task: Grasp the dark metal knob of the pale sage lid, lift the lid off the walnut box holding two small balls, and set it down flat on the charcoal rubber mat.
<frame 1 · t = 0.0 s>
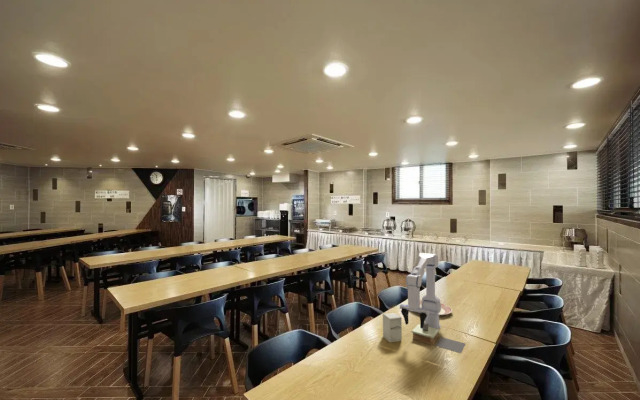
hand: (414, 325, 139), 10 cm above the table, fingers open, 7 cm apart
dinner plate: (429, 311, 187), on the table
box: (425, 339, 146), on the table
lid: (425, 331, 146), point 4 cm above the table, touching box
mat: (450, 345, 139), on the table
supplement box: (392, 339, 146), on the table
ball b: (427, 340, 144), resting on box
ball a: (423, 336, 148), resting on box
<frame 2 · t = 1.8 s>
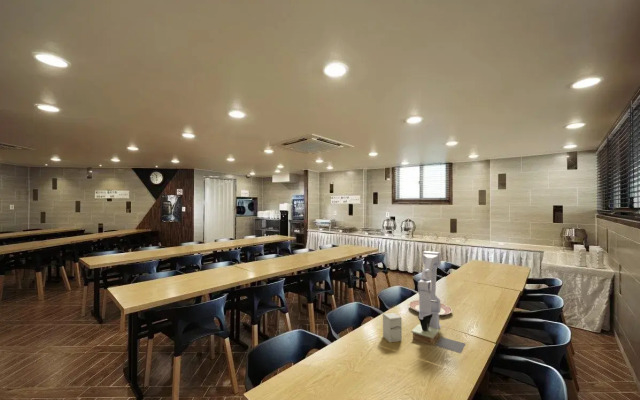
hand: (425, 328, 146), 5 cm above the table, fingers closed on lid, 3 cm apart
lid: (425, 331, 146), point 4 cm above the table, touching box, gripper
everything else where it was.
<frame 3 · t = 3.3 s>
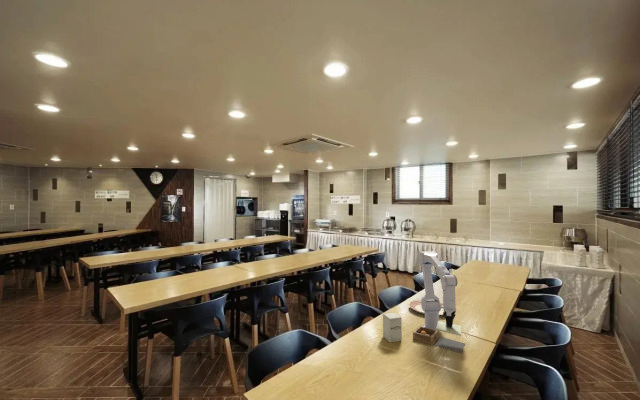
hand: (449, 325, 139), 10 cm above the table, fingers closed on lid, 3 cm apart
lid: (448, 328, 139), point 8 cm above the table, touching gripper
everything else where it was.
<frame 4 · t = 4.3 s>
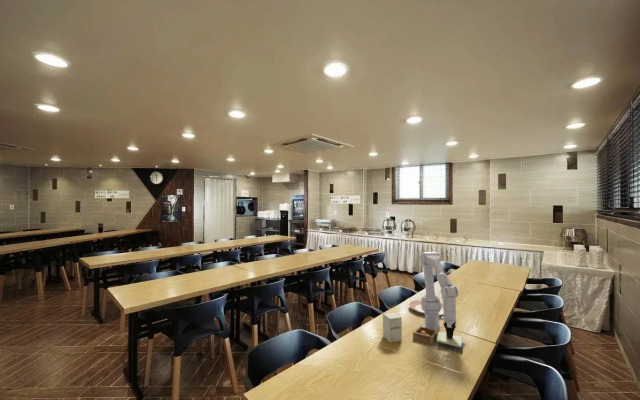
hand: (450, 336, 139), 4 cm above the table, fingers closed on lid, 3 cm apart
lid: (449, 339, 139), point 3 cm above the table, touching gripper
everything else where it was.
when the fingers open (3 cm above the table, at t = 4.9 s): lid stays where it is, resting on mat.
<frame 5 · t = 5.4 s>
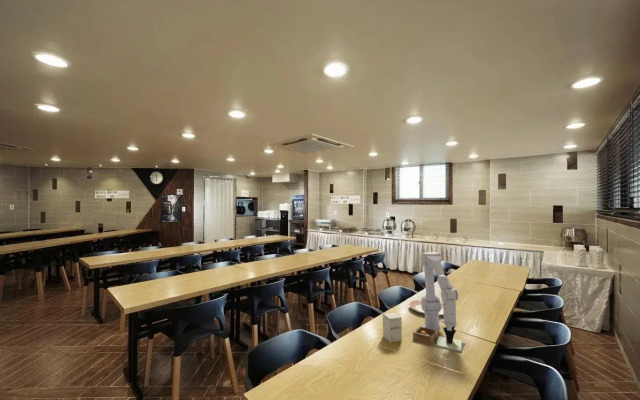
hand: (450, 339, 139), 3 cm above the table, fingers open, 7 cm apart
lid: (449, 344, 139), resting on mat
everything else where it was.
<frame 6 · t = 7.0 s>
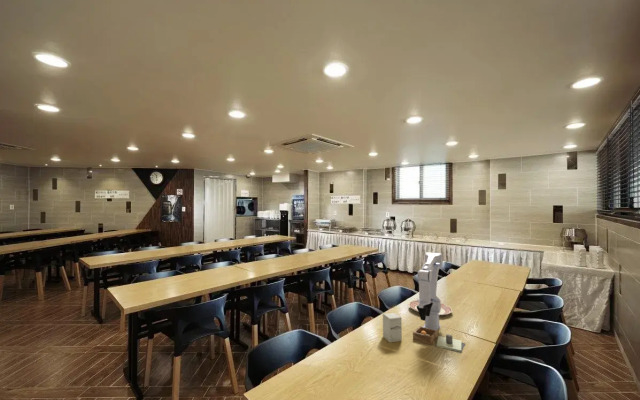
hand: (425, 317, 148), 10 cm above the table, fingers open, 7 cm apart
nothing on the table moved.
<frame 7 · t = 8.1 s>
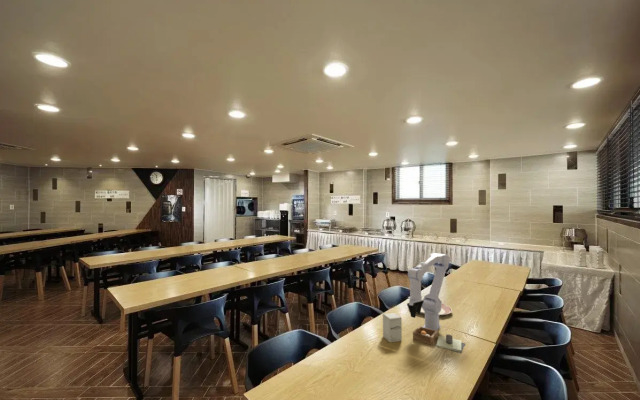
hand: (415, 315, 152), 10 cm above the table, fingers open, 7 cm apart
nothing on the table moved.
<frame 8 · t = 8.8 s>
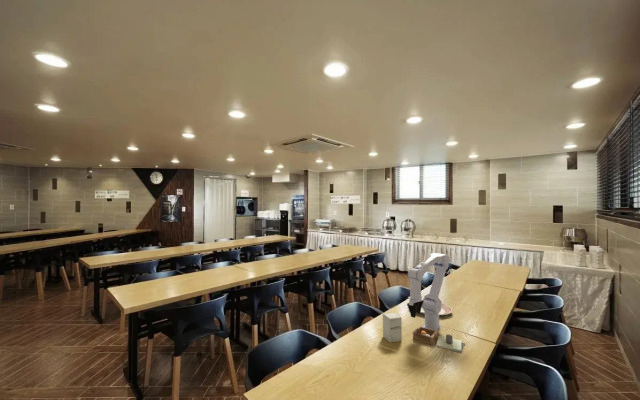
hand: (415, 315, 152), 10 cm above the table, fingers open, 7 cm apart
nothing on the table moved.
at the end: lid inside the target area on the mat (0.4 cm from its centre), point 0.4 cm above the mat's base; lid tilted 0°; the gripper is holding nothing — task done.
